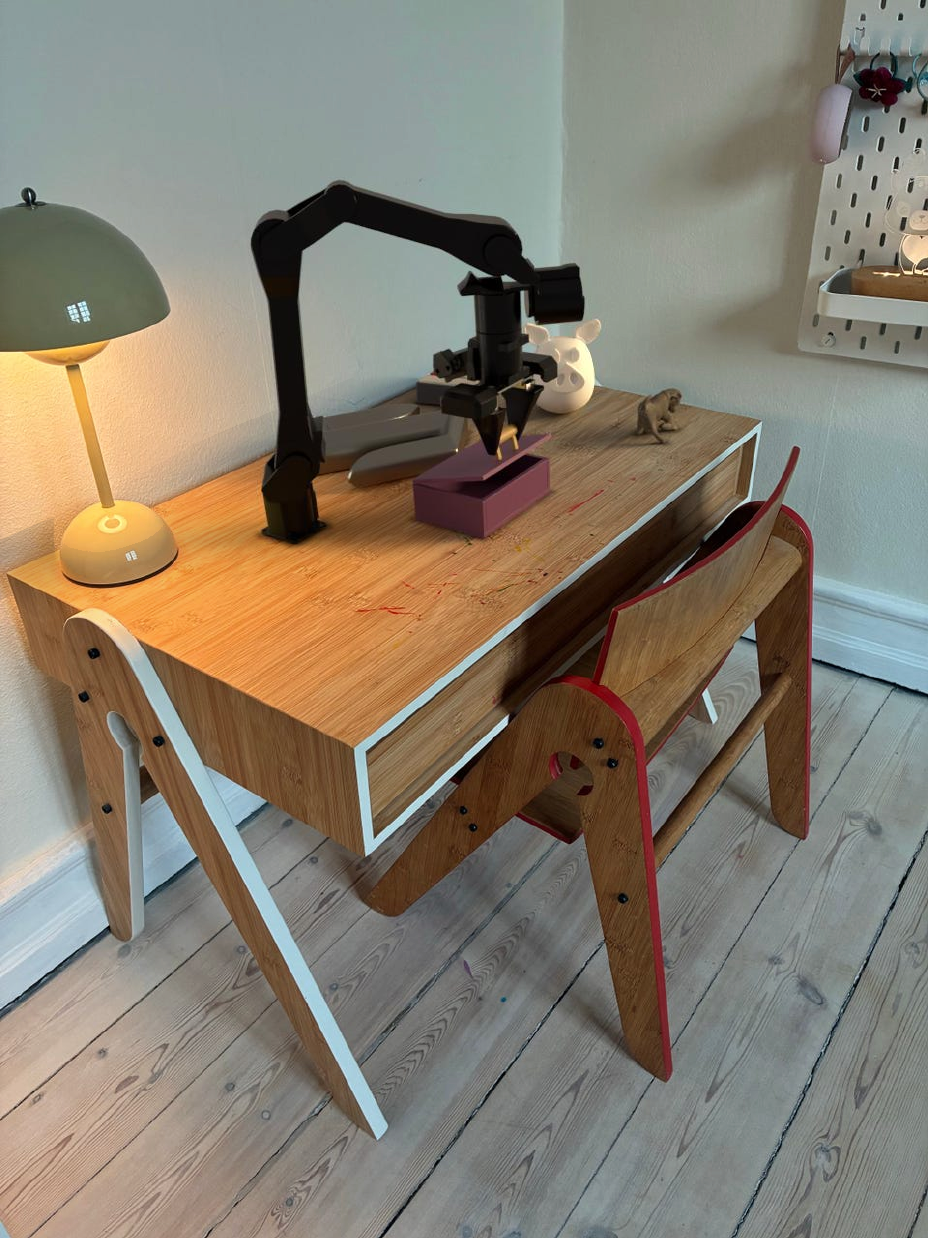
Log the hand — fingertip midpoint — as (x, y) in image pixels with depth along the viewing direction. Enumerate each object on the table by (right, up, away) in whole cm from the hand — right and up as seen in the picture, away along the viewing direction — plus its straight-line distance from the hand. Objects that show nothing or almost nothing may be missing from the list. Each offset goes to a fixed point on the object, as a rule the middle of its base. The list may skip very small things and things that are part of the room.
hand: (503, 447), depth 127 cm
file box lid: (-3, -1, +3) cm, 4 cm away
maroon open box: (-2, -7, +7) cm, 10 cm away
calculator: (-5, +18, +47) cm, 51 cm away
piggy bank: (+12, +12, +36) cm, 40 cm away
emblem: (-17, +3, +25) cm, 30 cm away
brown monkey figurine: (+26, +7, +26) cm, 38 cm away
